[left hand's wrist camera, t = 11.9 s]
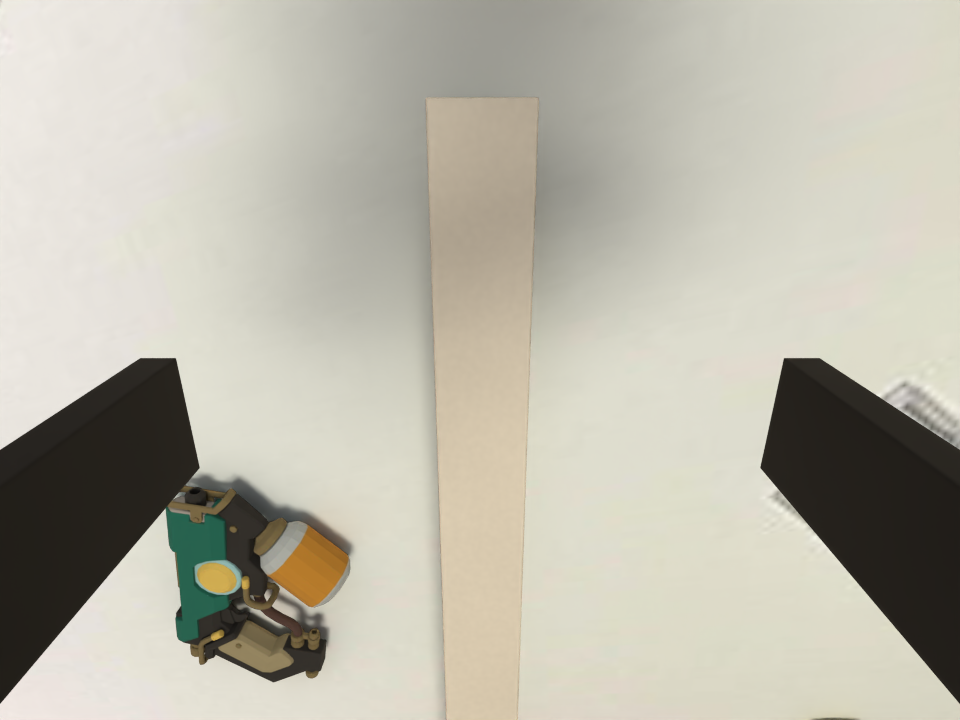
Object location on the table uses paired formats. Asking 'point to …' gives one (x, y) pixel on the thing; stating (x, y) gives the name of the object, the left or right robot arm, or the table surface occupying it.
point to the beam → (482, 384)
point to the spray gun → (248, 582)
